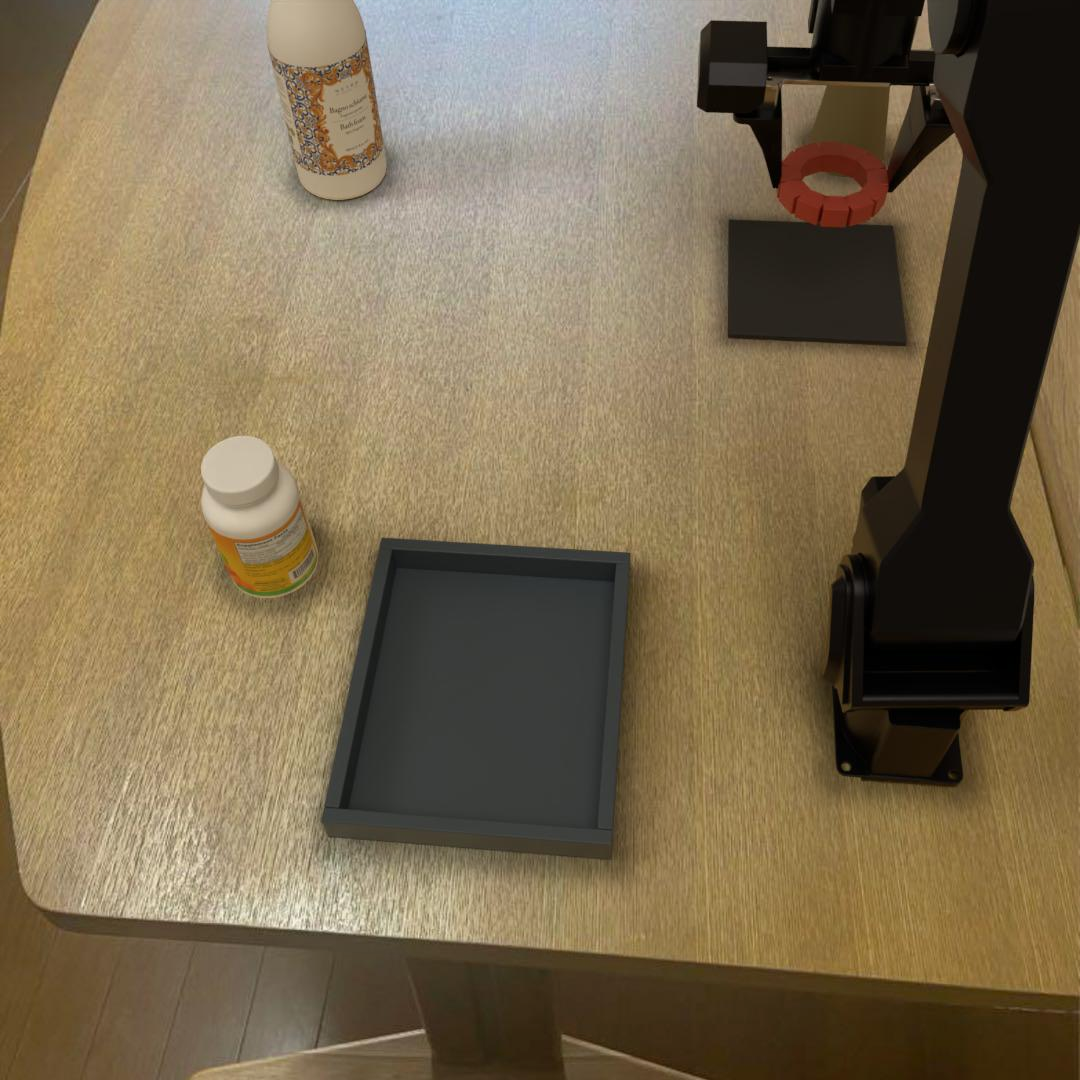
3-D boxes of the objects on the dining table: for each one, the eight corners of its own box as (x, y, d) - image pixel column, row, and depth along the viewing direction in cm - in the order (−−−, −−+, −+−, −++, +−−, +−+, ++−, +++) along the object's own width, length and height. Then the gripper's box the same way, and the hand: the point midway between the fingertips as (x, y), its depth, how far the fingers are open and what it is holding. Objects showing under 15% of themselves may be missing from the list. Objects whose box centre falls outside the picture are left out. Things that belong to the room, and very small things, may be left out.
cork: (882, 180, 91) (915, 48, 82) (802, 172, 92) (826, 40, 83) (885, 132, 94) (916, 0, 85) (808, 125, 95) (831, -7, 86)
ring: (888, 229, 76) (892, 211, 75) (777, 225, 77) (780, 207, 75) (880, 161, 80) (885, 143, 79) (775, 157, 81) (778, 139, 79)
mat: (905, 346, 81) (907, 342, 80) (727, 338, 82) (728, 333, 81) (892, 229, 88) (893, 225, 87) (728, 223, 89) (729, 218, 88)
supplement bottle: (227, 538, 73) (184, 434, 65) (315, 521, 74) (282, 417, 66) (233, 610, 70) (188, 511, 62) (324, 592, 70) (291, 491, 63)
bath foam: (327, 215, 91) (271, -43, 74) (283, 170, 94) (220, -86, 78) (404, 179, 93) (366, -78, 77) (358, 136, 96) (313, -119, 80)
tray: (611, 863, 60) (612, 845, 58) (329, 840, 62) (320, 821, 59) (629, 576, 70) (630, 552, 68) (387, 561, 72) (381, 536, 70)
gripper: (1033, -118, 69) (964, 116, 82) (710, -123, 71) (691, 108, 83) (1064, -14, 63) (983, 223, 75) (708, -22, 64) (687, 211, 77)
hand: (832, 186), depth 78 cm, fingers closed on ring, 7 cm apart
